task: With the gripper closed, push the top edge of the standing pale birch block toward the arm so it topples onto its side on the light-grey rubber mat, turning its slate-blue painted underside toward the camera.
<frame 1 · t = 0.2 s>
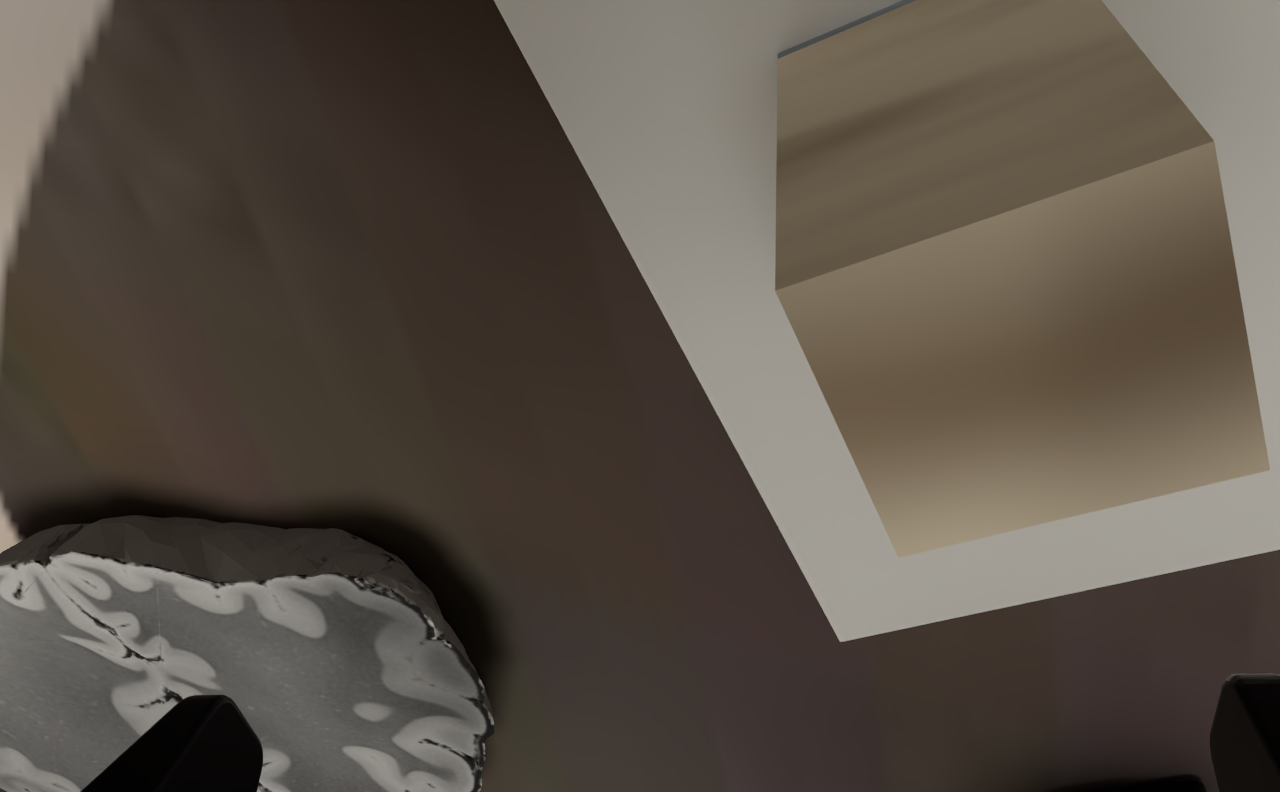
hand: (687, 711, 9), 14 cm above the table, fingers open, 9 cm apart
birch block: (946, 119, 20), resting on grey mat
grey mat: (996, 275, 22), on the table
brain slice: (257, 661, 35), on the table
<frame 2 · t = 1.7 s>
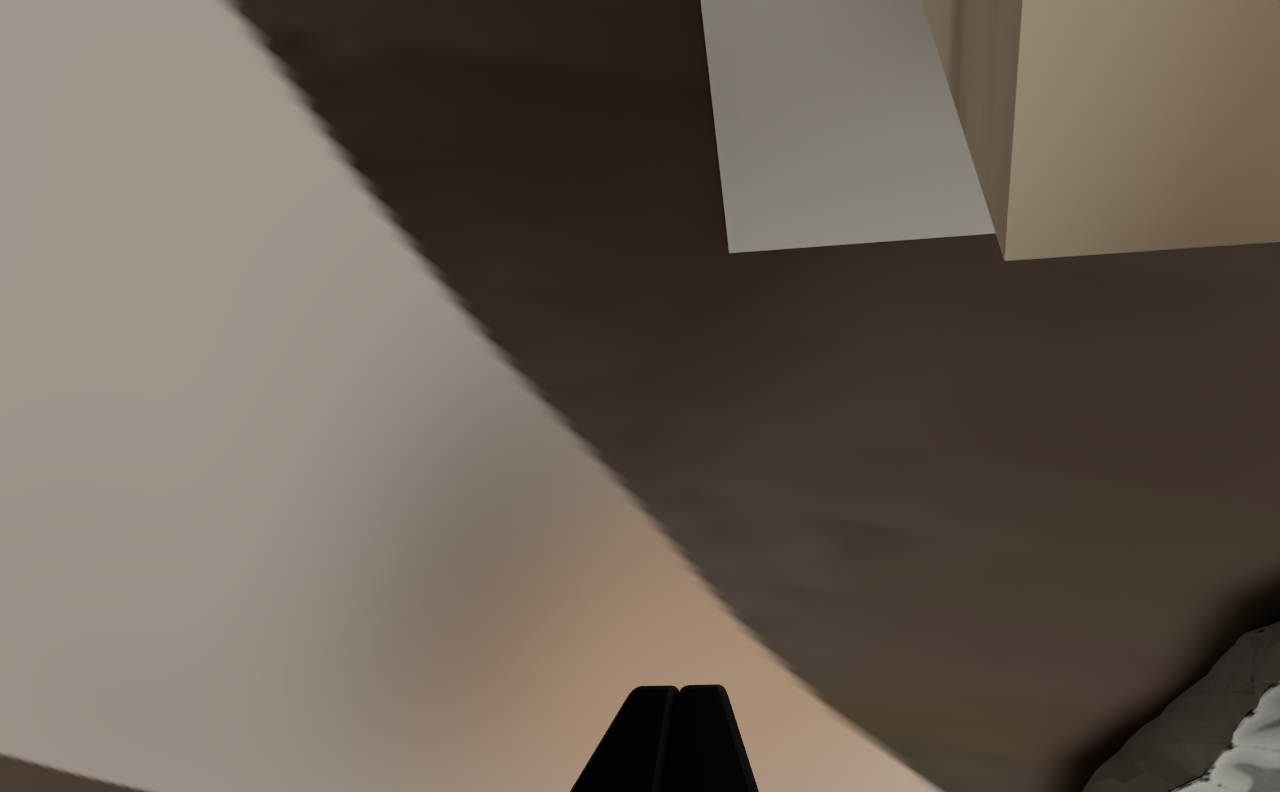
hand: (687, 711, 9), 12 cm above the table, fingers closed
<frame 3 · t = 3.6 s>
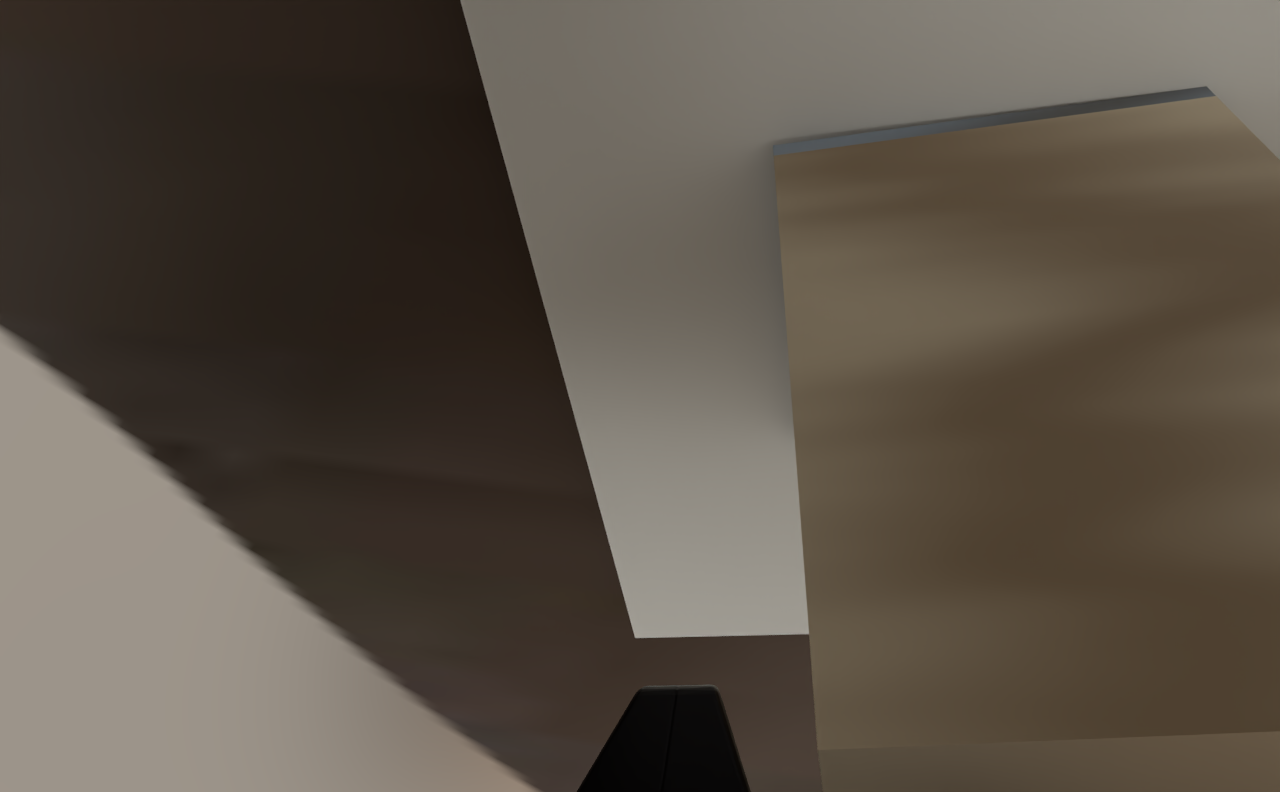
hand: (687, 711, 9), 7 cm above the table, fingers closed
birch block: (978, 294, 14), point 1 cm above the table, touching grey mat, gripper
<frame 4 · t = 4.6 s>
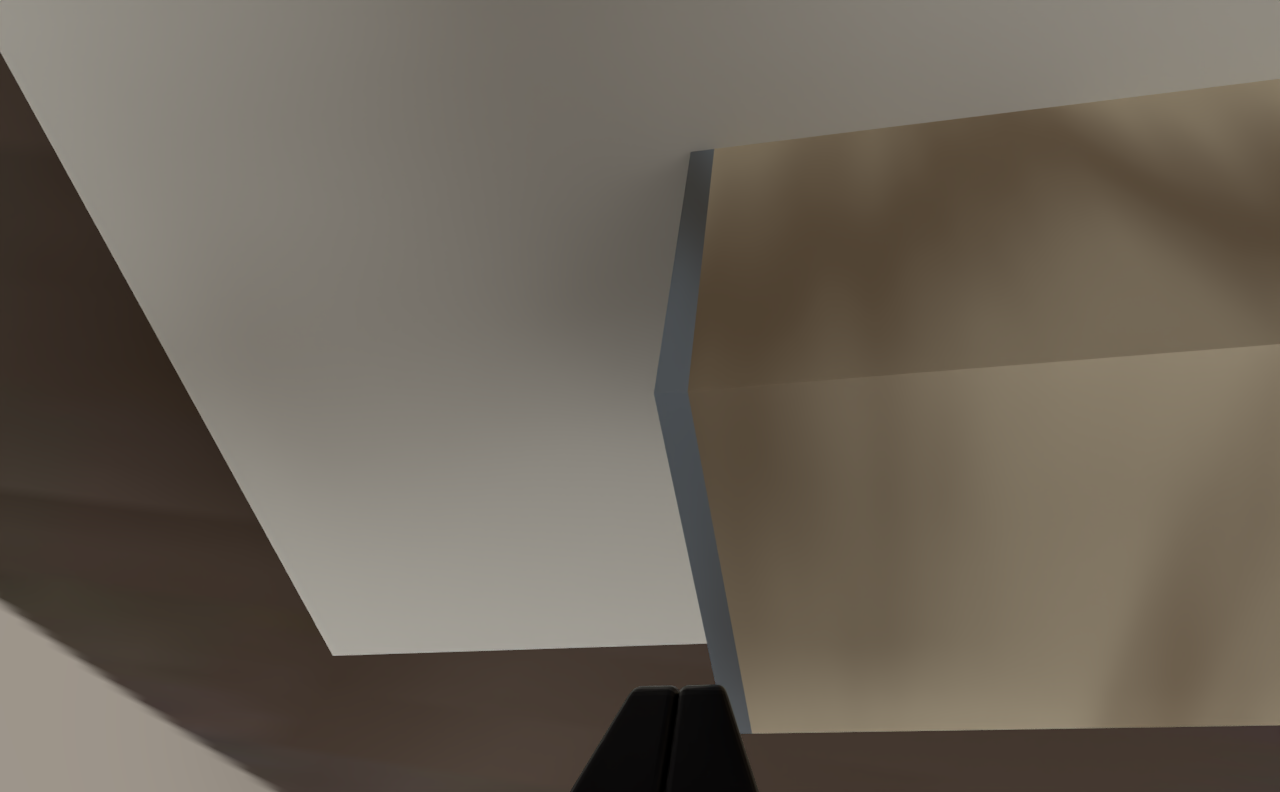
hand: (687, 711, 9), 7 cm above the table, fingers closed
birch block: (707, 431, 12), point 3 cm above the table, tilted 90°, touching grey mat
grey mat: (824, 292, 14), on the table
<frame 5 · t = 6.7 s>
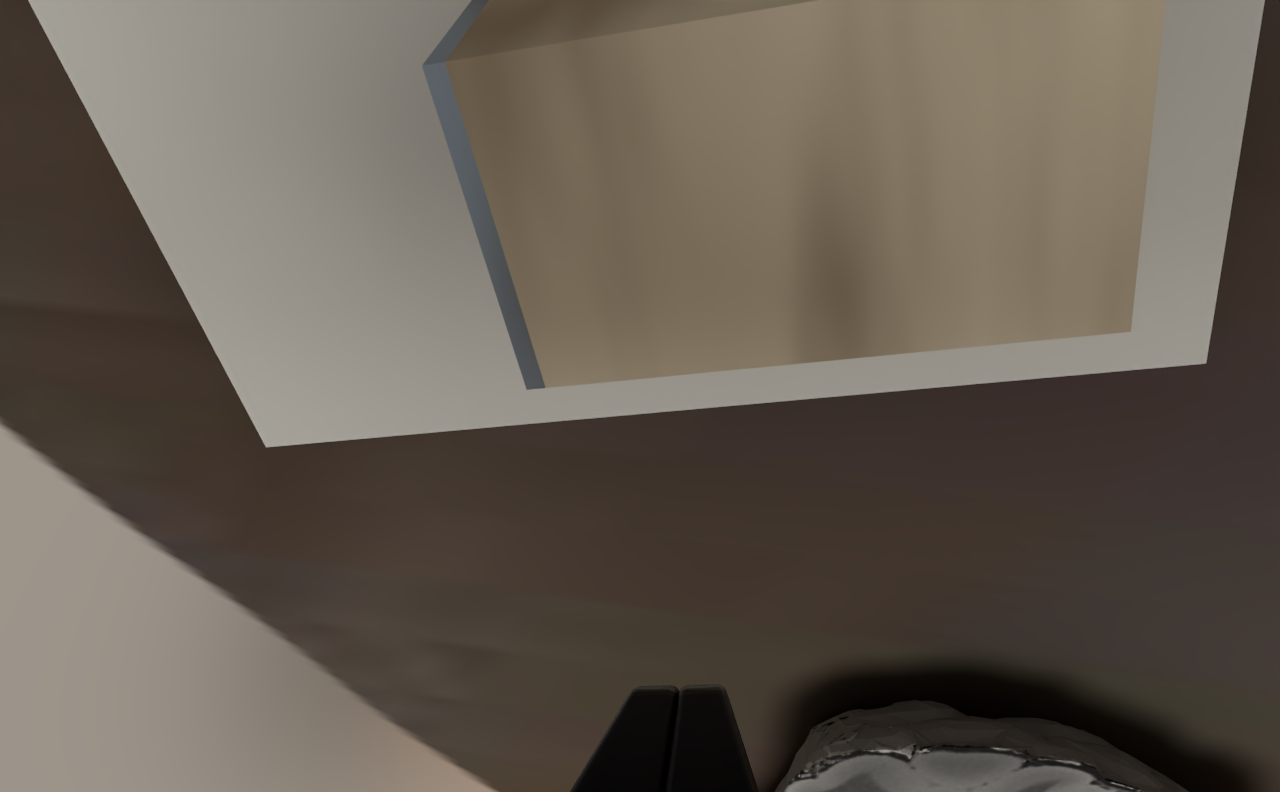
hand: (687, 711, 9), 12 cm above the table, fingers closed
birch block: (515, 165, 16), point 3 cm above the table, tilted 90°, touching grey mat
grey mat: (630, 82, 18), on the table
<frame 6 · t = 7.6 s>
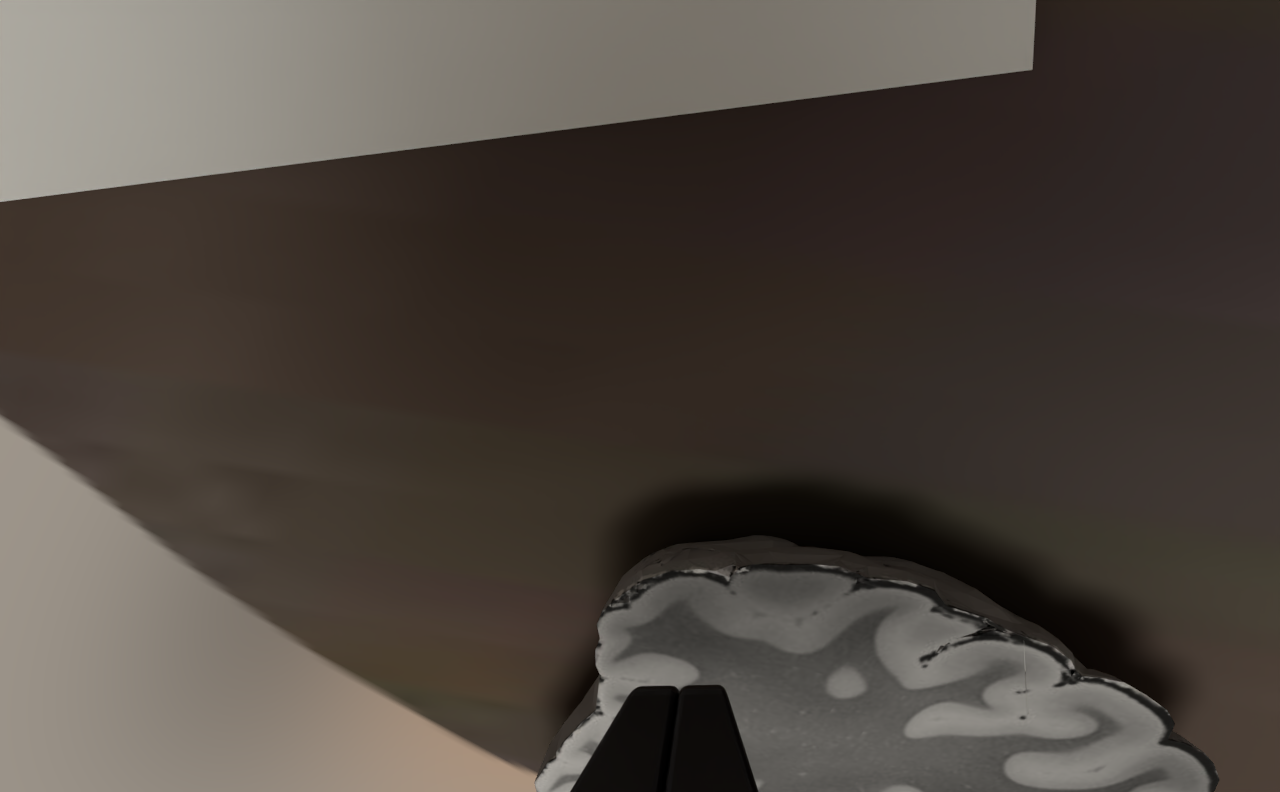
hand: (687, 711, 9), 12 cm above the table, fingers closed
brain slice: (847, 721, 30), on the table
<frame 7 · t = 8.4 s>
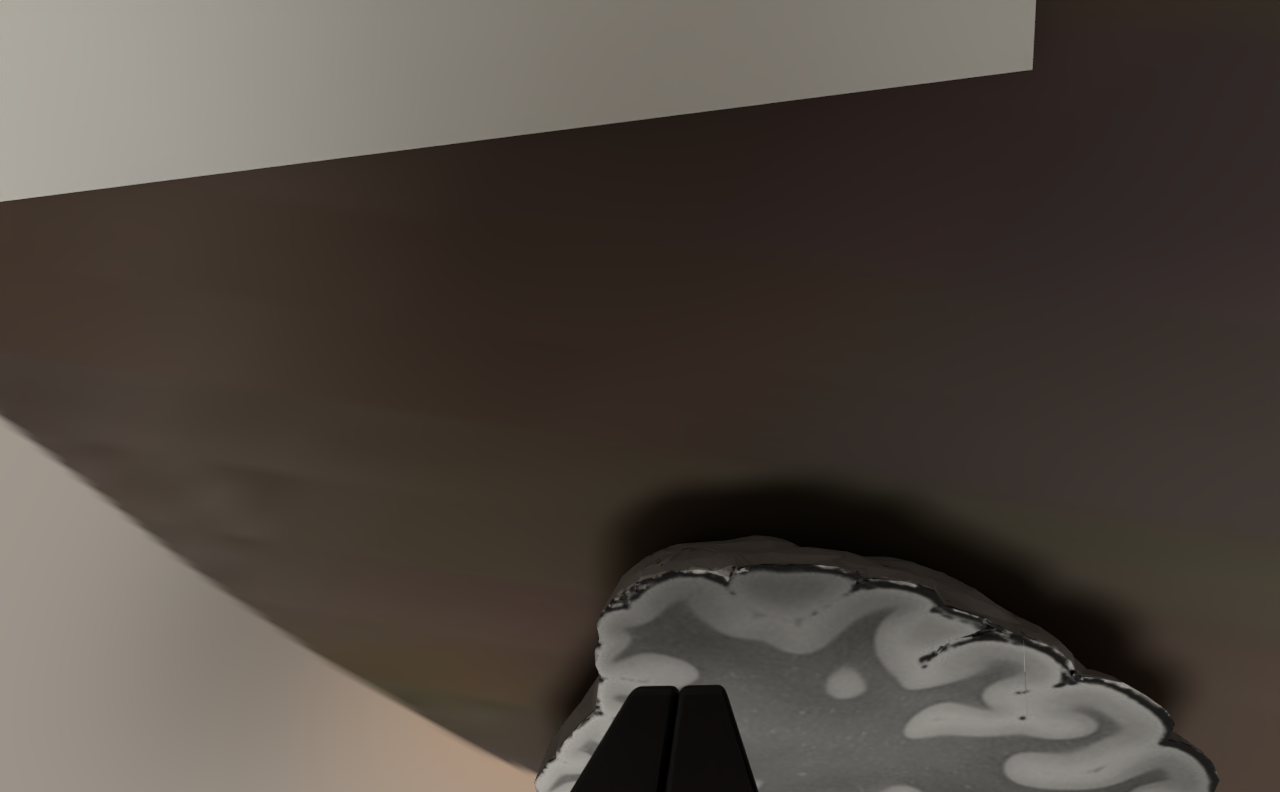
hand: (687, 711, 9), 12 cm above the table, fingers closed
brain slice: (847, 721, 30), on the table
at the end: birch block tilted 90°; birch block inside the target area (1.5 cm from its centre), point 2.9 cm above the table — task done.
